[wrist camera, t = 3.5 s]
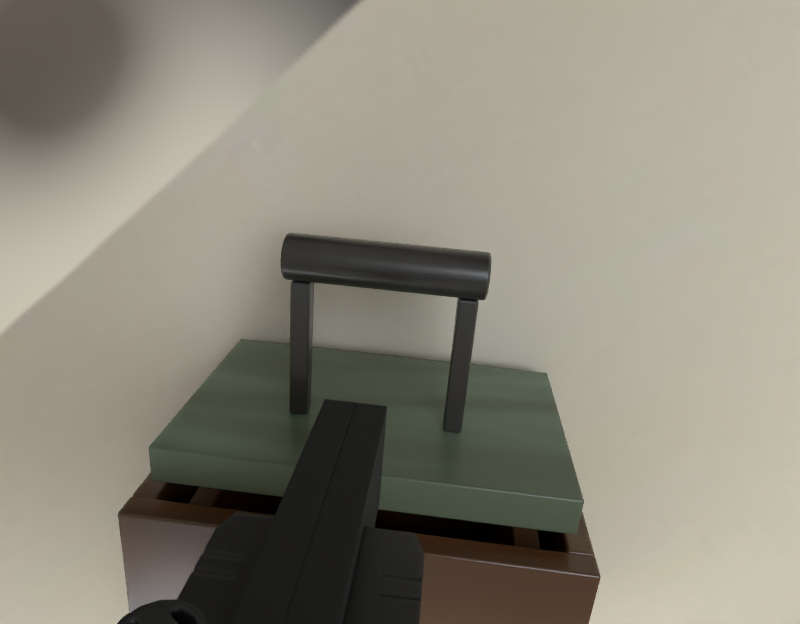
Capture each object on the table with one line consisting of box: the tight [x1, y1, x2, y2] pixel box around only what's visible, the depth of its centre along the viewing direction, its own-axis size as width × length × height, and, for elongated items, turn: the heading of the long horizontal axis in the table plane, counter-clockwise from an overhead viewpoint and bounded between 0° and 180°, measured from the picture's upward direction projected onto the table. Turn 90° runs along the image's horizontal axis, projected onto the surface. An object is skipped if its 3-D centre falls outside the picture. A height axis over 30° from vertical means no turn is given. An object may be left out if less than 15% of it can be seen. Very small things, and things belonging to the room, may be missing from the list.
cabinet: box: [118, 473, 600, 624], centre depth 24 cm, size 14×14×10 cm
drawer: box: [149, 233, 584, 549], centre depth 22 cm, size 18×12×8 cm
